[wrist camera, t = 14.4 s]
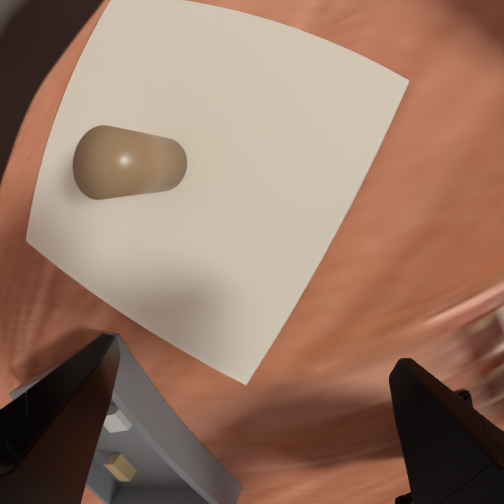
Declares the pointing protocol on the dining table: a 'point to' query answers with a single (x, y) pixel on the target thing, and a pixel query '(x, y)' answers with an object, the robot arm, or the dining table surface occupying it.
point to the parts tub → (149, 448)
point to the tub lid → (206, 170)
